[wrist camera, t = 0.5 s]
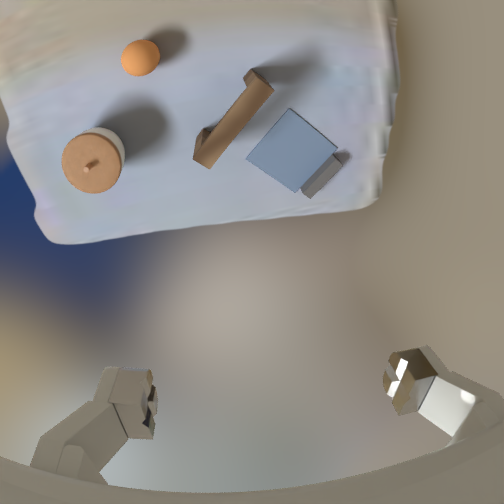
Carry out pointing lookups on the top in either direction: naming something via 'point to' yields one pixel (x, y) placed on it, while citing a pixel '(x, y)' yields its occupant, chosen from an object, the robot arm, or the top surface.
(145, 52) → the ball
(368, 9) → the top surface
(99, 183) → the lidded jar
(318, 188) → the stopper
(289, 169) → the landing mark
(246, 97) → the bridge
